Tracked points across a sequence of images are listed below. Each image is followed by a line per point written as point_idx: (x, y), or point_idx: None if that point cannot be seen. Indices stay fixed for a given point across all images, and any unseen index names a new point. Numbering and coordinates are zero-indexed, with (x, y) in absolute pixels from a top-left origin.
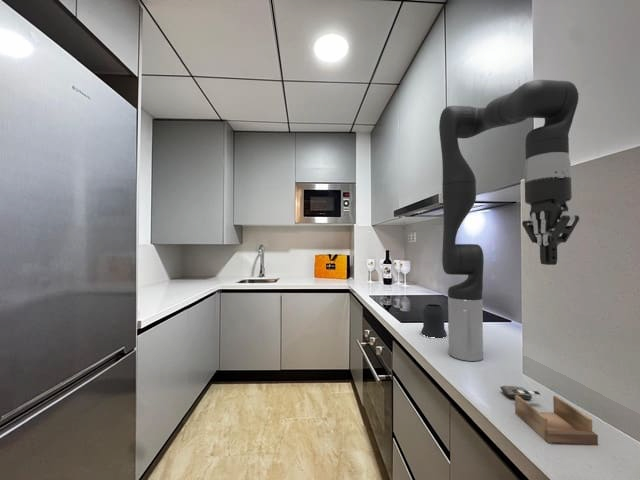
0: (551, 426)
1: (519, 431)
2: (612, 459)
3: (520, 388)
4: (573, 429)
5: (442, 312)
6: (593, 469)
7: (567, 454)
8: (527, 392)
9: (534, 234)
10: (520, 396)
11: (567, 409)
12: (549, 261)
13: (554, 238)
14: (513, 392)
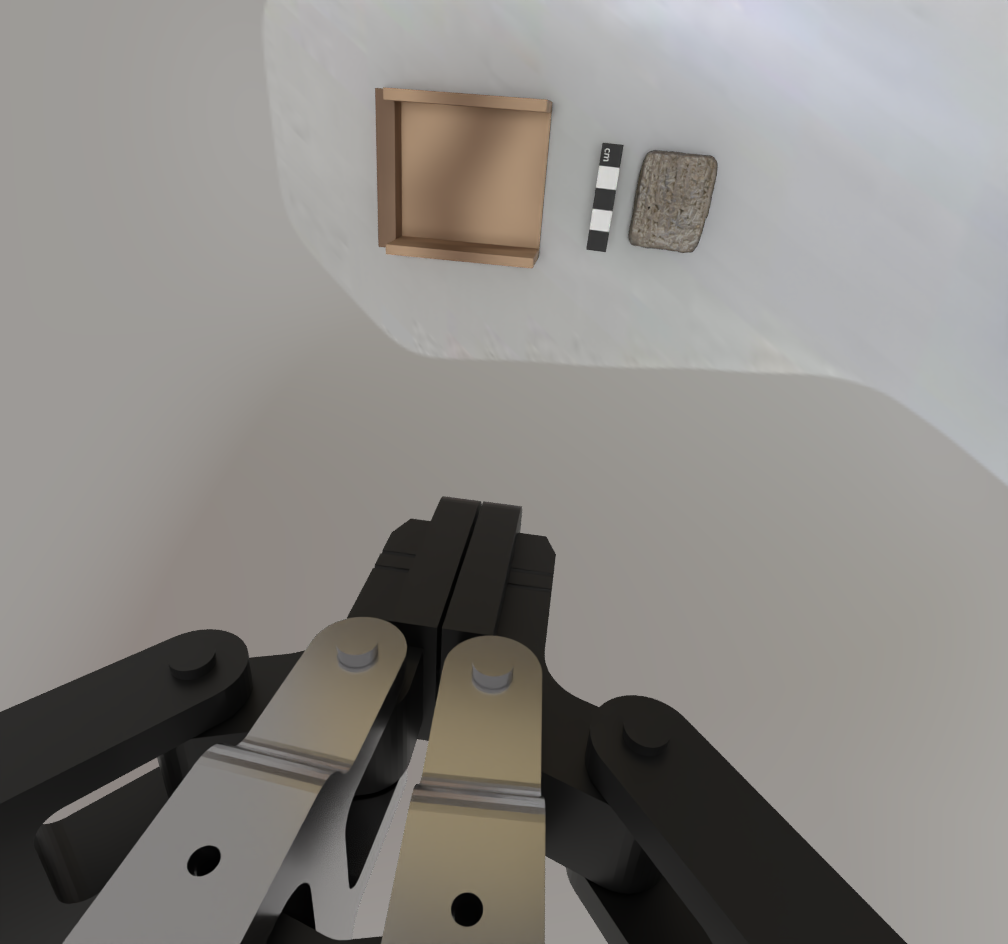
0: (461, 169)
1: (445, 31)
2: (332, 224)
3: (671, 227)
4: (446, 230)
5: None
6: (289, 131)
7: (341, 108)
8: (599, 202)
9: (658, 863)
10: (636, 197)
11: (472, 250)
12: (408, 521)
13: (126, 664)
14: (651, 176)
